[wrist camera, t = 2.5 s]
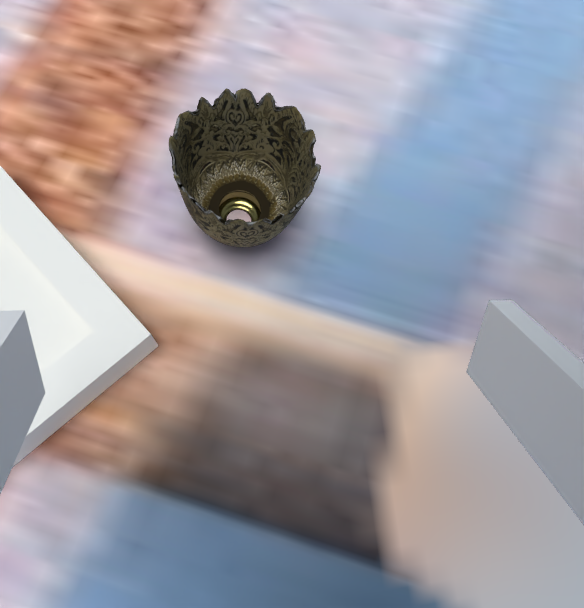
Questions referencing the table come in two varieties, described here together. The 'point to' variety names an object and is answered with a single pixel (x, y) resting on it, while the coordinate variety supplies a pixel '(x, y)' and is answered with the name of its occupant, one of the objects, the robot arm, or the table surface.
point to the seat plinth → (62, 314)
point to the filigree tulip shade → (243, 165)
